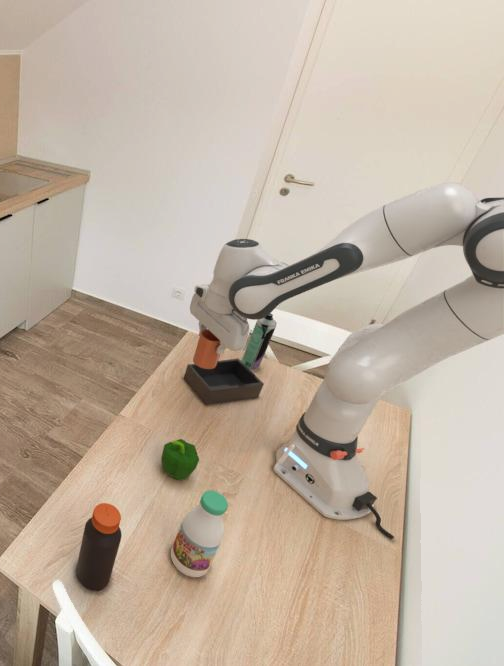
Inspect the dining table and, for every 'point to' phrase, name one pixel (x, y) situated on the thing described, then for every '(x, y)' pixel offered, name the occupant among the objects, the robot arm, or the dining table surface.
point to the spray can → (259, 342)
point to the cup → (206, 350)
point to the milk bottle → (200, 535)
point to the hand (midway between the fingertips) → (210, 344)
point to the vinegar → (99, 547)
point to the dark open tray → (223, 382)
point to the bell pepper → (179, 459)
